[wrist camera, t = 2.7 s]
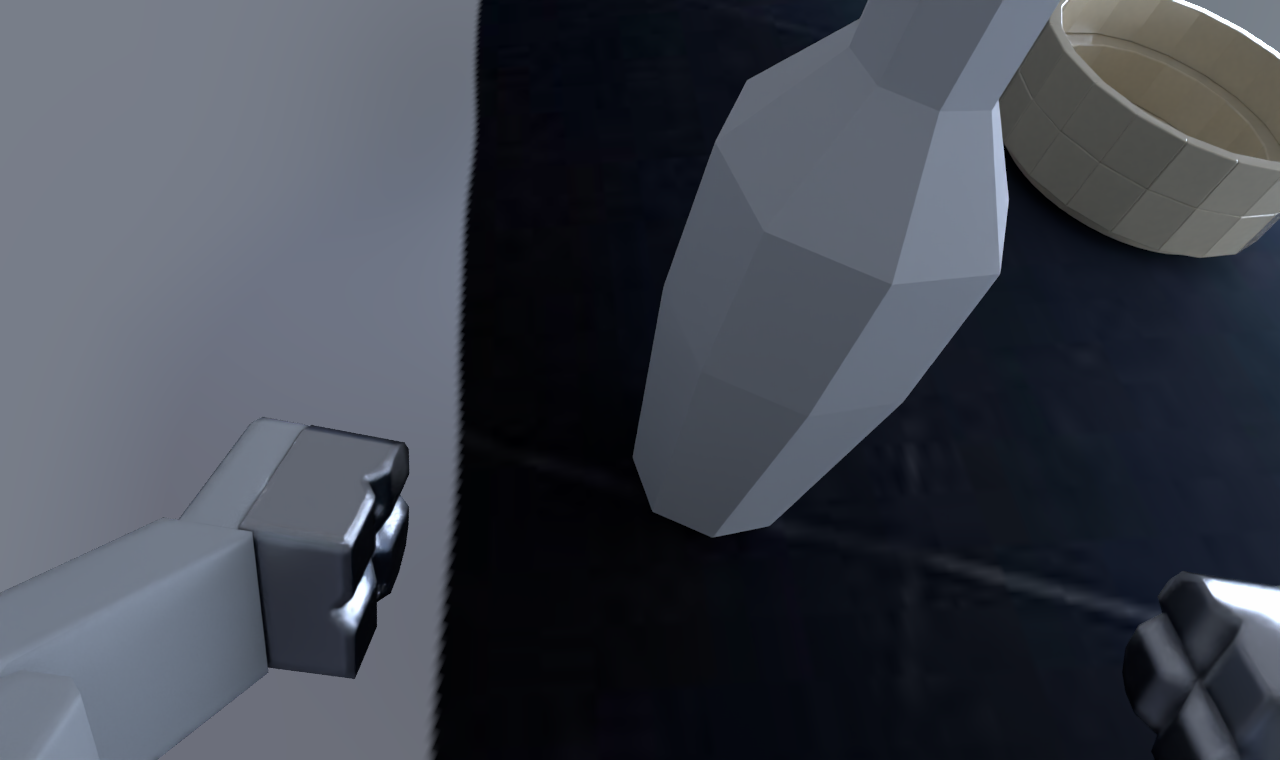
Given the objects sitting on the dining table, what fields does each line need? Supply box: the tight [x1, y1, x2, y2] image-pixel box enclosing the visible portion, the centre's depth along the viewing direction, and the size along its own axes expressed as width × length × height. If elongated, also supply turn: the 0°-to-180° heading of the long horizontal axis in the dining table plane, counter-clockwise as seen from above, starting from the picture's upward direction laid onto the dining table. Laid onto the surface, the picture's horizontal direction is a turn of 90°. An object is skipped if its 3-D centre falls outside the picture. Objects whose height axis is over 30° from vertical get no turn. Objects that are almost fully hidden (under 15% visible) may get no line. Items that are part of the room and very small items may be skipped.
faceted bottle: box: [633, 0, 1060, 538], centre depth 19 cm, size 6×6×22 cm
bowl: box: [999, 0, 1280, 258], centre depth 41 cm, size 13×13×6 cm
